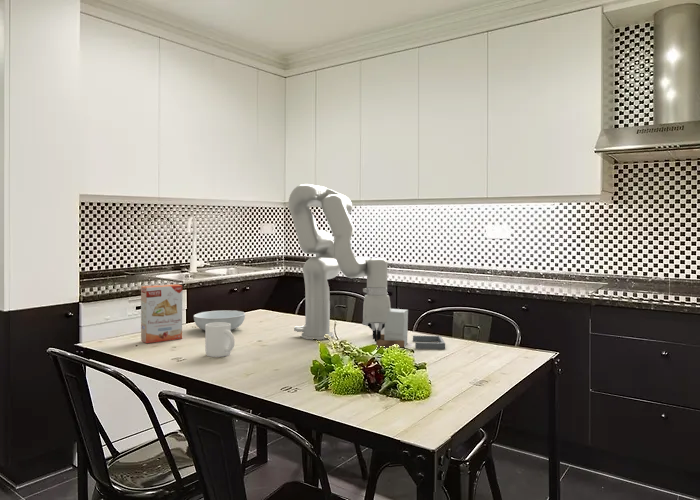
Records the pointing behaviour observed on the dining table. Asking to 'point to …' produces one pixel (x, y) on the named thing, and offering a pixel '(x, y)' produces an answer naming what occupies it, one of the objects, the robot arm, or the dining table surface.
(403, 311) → the supplement box
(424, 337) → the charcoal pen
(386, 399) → the dining table surface
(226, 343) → the mug
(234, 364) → the dining table surface
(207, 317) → the serving bowl
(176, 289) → the cracker box
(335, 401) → the dining table surface
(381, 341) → the walnut rails
